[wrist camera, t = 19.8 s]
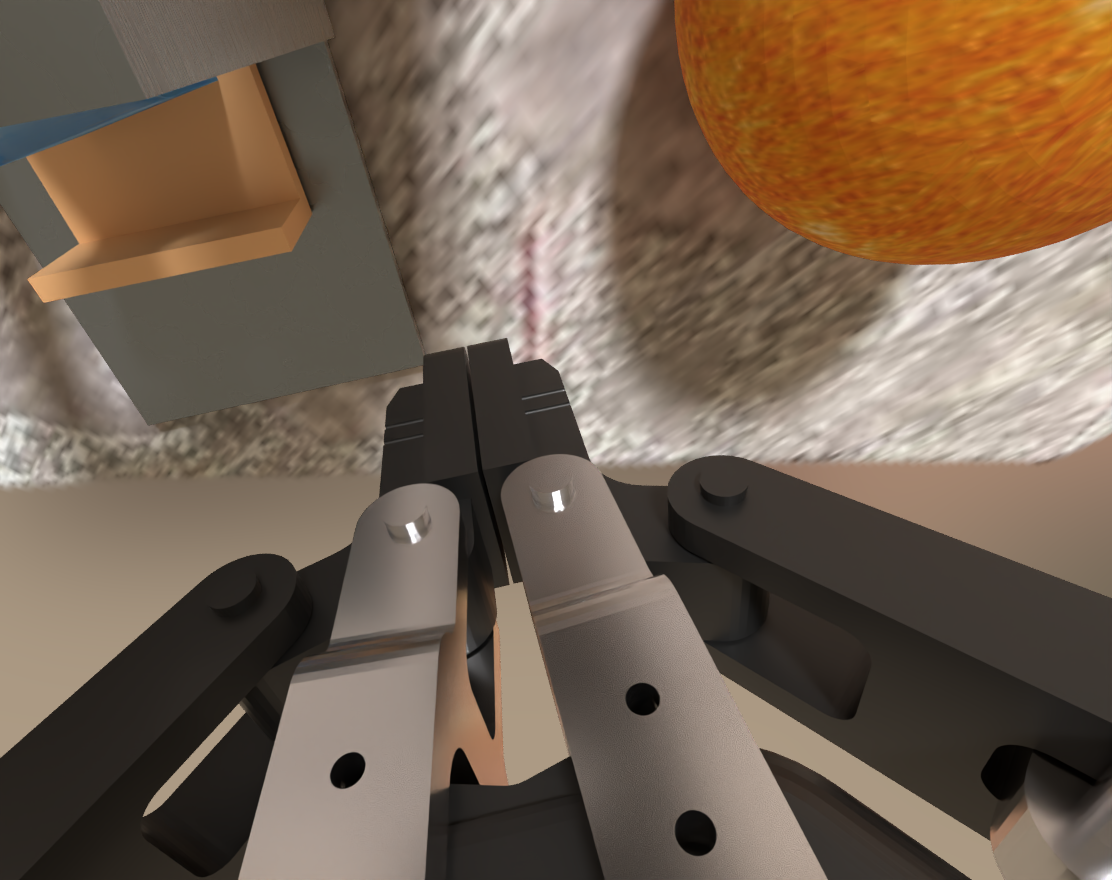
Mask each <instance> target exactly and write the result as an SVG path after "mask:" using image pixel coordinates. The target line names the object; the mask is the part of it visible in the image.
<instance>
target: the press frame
mask: <svg viewBox="0 0 1112 880" xmlns="http://www.w3.org/2000/svg"><path fill="white" fill-rule="evenodd" d="M332 38H335V35H334V32H333V29H332V26H331V22H330V19H329V16H328V13H327V9H326V6H325V3H324V0H0V127H5V126H10V125H15V124H20V123H25V122H31V121H36V120H41V119H46V118H51V117H57V116H62V115H67V114H72V113H77V112H83V111H88V110H93V109H98V108H103V107H109V106H114V105H119V104H124V103H129V102H135V101H140V100H145V99H149V98H152V97H155V96H158V95H161V94H164V93H167V92H170V91H173V90H176V89H179V88H182V87H185V86H188V85H191V84H194V83H197V82H201V81H204V80H207V79H210V78H213V77H216V76H219V75H222V74H225V73H228V72H231V71H234V70H237V69H240V68H243V67H246V66H249V65H252V64H256V66H257V69H258V72H259V74H260V77H261V79H262V82H263V85H264V87H265V90H266V93H267V95H268V98H269V101H270V103H271V106H272V108H273V111H274V114H275V116H276V119H277V122H278V124H279V127H280V130H281V132H282V135H283V137H284V140H285V143H286V145H287V148H288V151H289V153H290V156H291V159H292V161H293V164H294V166H295V169H296V172H297V174H298V177H299V180H300V182H301V185H302V188H303V190H304V193H305V195H306V198H307V201H308V203H309V206H310V209H311V211H312V215H311V217H310V219H309V221H308V223H307V225H306V226H305V228H304V230H303V232H302V234H301V235H300V237H299V239H298V241H297V243H296V245H295V246H294V248H293V250H292V251H291V252H286V253H281V254H277V255H272V256H267V257H262V258H257V259H252V260H248V261H243V262H238V263H233V264H228V265H223V266H219V267H214V268H209V269H204V270H199V271H195V272H190V273H185V274H180V275H175V276H170V277H166V278H161V279H156V280H151V281H146V282H141V283H137V284H132V285H127V286H122V287H117V288H112V289H108V290H103V291H98V292H93V293H88V294H83V295H79V296H74V297H69V298H64V300H65V302H66V303H67V305H68V306H69V308H70V309H71V311H72V312H73V314H74V315H75V316H76V318H77V319H78V321H79V322H80V324H81V325H82V327H83V328H84V330H85V331H86V333H87V334H88V336H89V337H90V339H91V340H92V342H93V343H94V345H95V346H96V348H97V349H98V351H99V352H100V354H101V355H102V357H103V358H104V360H105V361H106V363H107V364H108V366H109V367H110V369H111V370H112V372H113V373H114V375H115V376H116V378H117V379H118V381H119V382H120V384H121V385H122V387H123V388H124V390H125V391H126V393H127V394H128V396H129V397H130V399H131V400H132V402H133V403H134V405H135V406H136V408H137V409H138V411H139V412H140V414H141V415H142V417H143V418H144V420H145V421H146V423H147V424H148V425H152V424H157V423H161V422H166V421H171V420H175V419H180V418H184V417H189V416H193V415H198V414H203V413H207V412H212V411H216V410H221V409H225V408H230V407H235V406H239V405H244V404H248V403H253V402H257V401H262V400H267V399H271V398H276V397H280V396H285V395H289V394H294V393H299V392H303V391H308V390H312V389H317V388H321V387H326V386H331V385H335V384H340V383H344V382H349V381H353V380H358V379H363V378H367V377H372V376H376V375H381V374H385V373H390V372H395V371H399V370H404V369H408V368H413V367H417V366H422V365H423V356H424V355H426V354H425V351H424V348H423V344H422V341H421V338H420V335H419V332H418V328H417V325H416V322H415V319H414V316H413V313H412V309H411V306H410V303H409V300H408V297H407V293H406V290H405V287H404V284H403V281H402V277H401V274H400V271H399V268H398V265H397V262H396V258H395V255H394V252H393V249H392V246H391V242H390V239H389V236H388V233H387V230H386V227H385V223H384V220H383V217H382V214H381V211H380V207H379V204H378V201H377V198H376V195H375V191H374V188H373V185H372V182H371V179H370V176H369V172H368V169H367V166H366V163H365V160H364V156H363V153H362V150H361V147H360V144H359V141H358V137H357V134H356V131H355V128H354V125H353V121H352V118H351V115H350V112H349V109H348V105H347V102H346V99H345V96H344V93H343V90H342V86H341V83H340V80H339V77H338V74H337V70H336V67H335V64H334V61H333V58H332V55H331V51H330V48H329V45H328V42H327V40H329V39H332ZM0 204H1V206H2V207H3V209H4V210H5V212H6V213H7V215H8V216H9V218H10V219H11V221H12V222H13V224H14V225H15V227H16V228H17V230H18V231H19V233H20V234H21V236H22V237H23V239H24V240H25V242H26V243H27V245H28V246H29V248H30V249H31V251H32V252H33V254H34V255H35V257H36V258H37V260H38V261H39V263H40V264H41V266H42V267H43V268H44V267H46V266H47V265H49V264H50V263H52V262H53V261H55V260H56V259H57V258H59V257H60V256H62V255H63V254H65V253H66V252H68V251H69V250H71V249H72V248H74V247H75V246H77V245H78V244H79V242H78V241H77V239H76V237H75V236H74V234H73V232H72V231H71V229H70V228H69V226H68V224H67V223H66V221H65V220H64V218H63V216H62V215H61V213H60V211H59V210H58V208H57V207H56V205H55V203H54V202H53V200H52V198H51V197H50V195H49V194H48V192H47V190H46V189H45V187H44V186H43V184H42V182H41V181H40V179H39V177H38V176H37V174H36V173H35V171H34V169H33V168H32V166H31V164H30V163H29V161H28V160H27V158H26V157H24V158H21V159H19V160H16V161H13V162H11V163H8V164H5V165H2V166H0Z"/></svg>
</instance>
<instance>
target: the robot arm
mask: <svg viewBox="0 0 1112 880" xmlns="http://www.w3.org/2000/svg"><path fill="white" fill-rule="evenodd" d="M467 349H468V357H469V361H468V357H467V354H466V351H465V348H464V347H461V348H456V349H451V350H446V351H441V352H436V353H431V354H427V355H424V356H423V384H418V385H414V386H409V387H404V388H400V389H399V390H398V392H397V393H396V395H395V396H394V398H393V399H392V400H391V402H390V403H389V405H388V406H387V410H386V422H385V427H386V430H385V434H384V444H385V445H384V446H383V458H382V470H381V482H380V494H379V498H378V499H377V500H376V501H374V502H373V503H372V504H371V505H370V506H369V507H368V508H366V510H365V511H364V512H363V514H362V515H361V517H360V518H359V520H358V522H357V525H356V528H355V533H354V537H353V542H352V543H351V544H350V545H349V546H347V547H345V548H344V549H342V550H341V551H339V552H337V553H335V554H333V555H331V556H329V557H327V558H324V559H322V560H320V561H318V562H316V563H314V564H312V565H310V566H307V567H305V568H303V569H301V570H299V571H296V570H295V568H294V567H293V565H292V564H291V563H290V562H289V561H288V560H287V559H285V558H284V557H282V556H279V555H275V554H257V555H250V556H246V557H243V558H240V559H237V560H235V561H233V562H230V563H228V564H226V565H224V566H222V567H221V568H219V569H217V570H216V571H214V572H213V573H211V574H210V575H209V576H208V577H206V578H205V579H204V580H202V581H201V582H200V583H199V584H198V585H197V586H196V587H195V588H193V589H192V590H191V591H190V592H189V593H188V594H187V595H185V596H184V597H183V598H182V599H181V600H180V601H179V602H177V603H176V604H175V605H174V606H173V607H172V608H171V609H170V610H168V611H167V612H166V613H165V614H164V615H163V616H161V617H160V618H159V619H158V620H157V621H156V622H155V623H154V624H152V625H151V626H150V627H149V628H148V629H147V630H146V631H144V632H143V633H142V634H141V635H140V636H139V637H138V638H137V639H135V640H134V641H133V642H132V643H131V644H130V645H128V646H127V647H126V648H125V649H124V650H123V651H122V652H121V653H119V654H118V655H117V656H116V657H115V658H114V659H113V660H112V661H110V662H109V663H108V664H107V665H106V666H105V667H103V668H102V669H101V670H100V671H99V672H98V673H97V674H95V675H94V676H93V677H92V678H91V679H90V680H89V681H88V682H86V683H85V684H84V685H83V686H82V687H81V688H80V689H78V690H77V691H76V692H75V693H74V694H73V695H72V696H71V697H69V698H68V699H67V700H66V701H65V702H64V703H63V704H61V705H60V706H59V707H58V708H57V709H56V710H55V711H53V712H52V713H51V714H50V715H49V716H48V717H47V718H45V719H44V720H43V721H42V722H41V723H40V724H39V725H37V726H36V728H34V729H33V730H32V731H31V732H30V733H28V734H27V735H26V736H25V737H24V738H23V739H22V740H21V741H20V742H18V743H17V744H16V745H15V746H14V747H13V748H11V749H10V750H9V751H8V752H7V753H6V754H5V755H3V756H2V757H1V758H0V880H971V879H970V878H968V877H967V876H965V875H964V874H963V873H961V872H960V871H958V870H957V869H956V868H954V867H953V866H951V865H950V864H948V863H947V862H946V861H944V860H943V859H941V858H940V857H938V856H937V855H936V854H934V853H933V852H931V851H930V850H928V849H927V848H925V847H924V846H923V845H921V844H920V843H918V842H917V841H916V840H914V839H913V838H911V837H910V836H908V835H907V834H905V833H904V832H903V831H901V830H900V829H898V828H897V827H896V826H894V825H893V824H891V823H890V822H888V821H887V820H886V819H884V818H883V817H881V816H880V815H879V814H877V813H876V812H874V811H873V810H871V809H870V808H869V807H867V806H866V805H864V804H863V803H861V802H860V801H858V800H857V799H856V798H854V797H853V796H851V795H850V794H848V793H847V792H846V791H844V790H843V789H841V788H840V787H838V786H837V785H836V784H834V783H833V782H831V781H829V780H828V779H826V778H825V777H823V776H822V775H820V774H818V773H816V772H815V771H813V770H811V769H809V768H807V767H805V766H803V765H802V764H800V763H798V762H796V761H793V760H791V759H789V758H786V757H784V756H781V755H779V754H776V753H774V752H771V751H768V750H764V749H761V748H759V747H758V745H757V744H756V742H755V740H754V738H753V736H752V734H751V732H750V730H749V728H748V726H747V724H746V723H745V721H744V719H743V717H742V715H741V713H740V711H739V709H738V707H737V705H736V703H735V701H734V700H733V698H732V696H731V694H730V692H729V690H728V688H727V686H726V684H725V682H724V680H723V679H722V677H721V675H720V673H721V674H722V675H724V676H726V677H727V678H729V679H731V680H732V681H734V682H735V683H737V684H739V685H740V686H742V687H743V688H745V689H747V690H748V691H750V692H751V693H753V694H755V695H756V696H758V697H759V698H761V699H763V700H765V701H766V702H768V703H769V704H771V705H772V706H774V707H776V708H777V709H779V710H780V711H782V712H784V713H785V714H787V715H788V716H790V717H792V718H794V719H795V720H797V721H798V722H800V723H801V724H803V725H805V726H806V727H808V728H809V729H811V730H813V731H814V732H816V733H817V734H819V735H821V736H822V737H824V738H826V739H827V740H829V741H830V742H832V743H834V744H835V745H837V746H838V747H840V748H842V749H843V750H845V751H847V752H848V753H850V754H851V755H853V756H854V757H856V758H858V759H859V760H861V761H863V762H864V763H866V764H867V765H869V766H871V767H872V768H874V769H875V770H877V771H879V772H881V773H882V774H884V775H885V776H887V777H888V778H890V779H892V780H893V781H895V782H896V783H898V784H900V785H901V786H903V787H904V788H906V789H908V790H909V791H911V792H912V793H914V794H916V795H917V796H919V797H921V798H922V799H924V800H925V801H927V802H929V803H930V804H932V805H933V806H935V807H937V808H938V809H940V810H942V811H943V812H945V813H946V814H948V815H950V816H952V817H953V818H954V819H956V820H958V821H959V822H961V823H963V824H964V825H966V826H967V827H969V828H971V829H972V830H974V831H975V832H977V833H979V834H980V835H982V836H983V837H985V838H987V839H988V840H990V841H991V845H992V851H993V854H994V857H995V860H996V863H997V866H998V868H999V870H1000V872H1001V874H1002V876H1003V878H1004V880H1112V598H1109V597H1107V596H1104V595H1102V594H1099V593H1096V592H1093V591H1091V590H1088V589H1086V588H1083V587H1080V586H1077V585H1075V584H1073V583H1070V582H1067V581H1065V580H1062V579H1060V578H1057V577H1054V576H1052V575H1049V574H1046V573H1044V572H1041V571H1039V570H1036V569H1033V568H1031V567H1028V566H1025V565H1023V564H1020V563H1018V562H1015V561H1012V560H1010V559H1007V558H1004V557H1002V556H999V555H997V554H994V553H991V552H989V551H986V550H984V549H981V548H978V547H976V546H973V545H970V544H967V543H965V542H962V541H960V540H957V539H954V538H952V537H949V536H947V535H944V534H942V533H939V532H936V531H934V530H931V529H928V528H926V527H923V526H921V525H918V524H915V523H912V522H910V521H907V520H905V519H902V518H900V517H897V516H894V515H892V514H889V513H886V512H884V511H881V510H878V509H876V508H873V507H871V506H868V505H865V504H863V503H860V502H857V501H855V500H852V499H849V498H847V497H845V496H842V495H839V494H837V493H834V492H831V491H829V490H826V489H824V488H821V487H818V486H816V485H813V484H810V483H808V482H805V481H803V480H800V479H797V478H795V477H792V476H789V475H787V474H784V473H781V472H779V471H776V470H774V469H771V468H769V467H766V466H763V465H761V464H758V463H755V462H753V461H750V460H747V459H744V458H740V457H734V456H725V455H719V456H708V457H703V458H699V459H695V460H693V461H690V462H688V463H687V464H685V465H683V466H682V467H680V468H679V469H678V470H677V471H676V472H675V473H674V474H673V476H672V477H671V479H670V481H669V483H668V486H641V485H631V484H625V483H622V482H618V481H615V480H613V479H611V478H608V477H606V476H605V475H603V474H602V473H601V472H600V470H599V469H598V468H597V467H596V466H595V465H594V464H593V463H591V461H590V459H589V456H588V454H587V451H586V448H585V445H584V442H583V439H582V437H581V434H580V431H579V428H578V425H577V422H576V420H575V417H574V414H573V411H572V408H571V406H570V403H569V400H568V397H567V394H566V391H565V389H564V385H563V383H562V380H561V377H560V374H559V371H558V370H556V369H555V368H554V367H552V366H551V365H550V364H548V363H547V362H545V361H544V360H543V359H538V360H533V361H528V362H524V363H519V364H514V365H513V361H512V356H511V352H510V348H509V344H508V340H507V338H504V339H499V340H494V341H489V342H484V343H480V344H475V345H470V346H467ZM504 550H505V551H504ZM505 554H506V557H507V561H508V565H509V568H510V572H511V576H512V579H513V582H514V583H518V582H523V585H524V589H525V593H526V597H527V601H528V604H529V609H530V613H531V616H532V620H533V624H534V628H535V632H536V635H537V639H538V643H539V646H540V650H541V654H542V658H543V661H544V665H545V669H546V673H547V676H548V680H549V684H550V687H551V691H552V695H553V699H554V702H555V706H556V710H557V713H558V717H559V721H560V725H561V728H562V732H563V736H564V739H565V743H566V747H567V751H568V754H569V757H568V758H566V759H564V760H562V761H560V762H559V763H557V764H555V765H553V766H551V767H550V768H548V769H546V770H544V771H542V772H540V773H538V774H537V775H535V776H533V777H531V778H530V779H528V780H526V781H523V782H521V783H519V784H516V785H510V786H509V784H508V779H507V774H506V769H505V762H504V753H503V734H502V733H503V732H502V702H501V701H502V700H501V699H502V698H501V666H500V635H499V628H498V625H497V622H496V617H497V608H496V599H495V591H494V588H497V587H502V586H506V585H509V578H508V571H507V565H506V558H505ZM238 704H240V706H241V707H242V708H243V709H244V710H245V711H246V713H245V714H244V715H243V716H242V717H241V718H240V719H239V721H238V722H237V723H236V724H235V725H234V726H233V727H232V728H231V729H230V731H229V732H228V733H227V734H226V735H225V736H224V737H223V738H222V740H220V742H219V743H218V744H217V745H216V746H215V747H214V748H213V749H212V750H211V752H210V753H209V754H208V755H207V756H206V757H205V758H204V759H203V761H202V762H201V763H200V764H199V765H198V766H197V767H196V768H195V769H194V771H192V773H191V774H190V775H189V776H188V777H187V778H186V779H185V780H184V781H183V783H182V784H181V785H180V786H179V787H178V788H177V789H176V790H175V792H174V793H173V794H172V795H171V796H170V797H169V798H168V799H167V800H166V801H165V802H164V803H163V804H162V805H161V806H160V807H159V808H158V809H156V810H155V811H153V812H152V813H150V814H148V815H147V816H144V817H143V814H144V812H145V809H146V808H147V806H148V804H149V802H150V801H151V799H152V798H153V796H154V795H155V794H156V793H157V791H158V790H159V789H160V788H161V787H162V786H163V785H164V784H165V783H166V782H167V780H168V779H169V778H170V777H171V776H172V775H173V774H174V773H175V772H176V771H177V770H178V769H179V767H180V766H181V765H182V764H183V763H184V762H185V761H186V760H187V759H188V758H189V757H190V755H191V754H192V753H193V752H194V751H195V750H196V749H197V748H198V747H199V746H200V745H201V744H202V742H203V741H204V740H205V739H206V738H207V737H208V736H209V735H210V734H211V733H212V732H213V731H214V729H215V728H216V727H217V726H218V725H219V724H220V723H221V722H222V721H223V720H224V718H226V717H227V715H228V714H229V713H230V712H231V711H232V710H233V709H234V708H235V707H236V706H237V705H238Z"/></svg>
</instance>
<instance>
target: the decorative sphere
mask: <svg viewBox="0 0 1112 880" xmlns="http://www.w3.org/2000/svg"><path fill="white" fill-rule="evenodd" d="M674 5H675V28H676V37H677V47H678V54H679V59H680V64H681V70H682V75H683V79H684V83H685V86H686V90H687V93H688V97H689V100H690V103H691V106H692V108H693V111H694V113H695V116H696V118H697V121H698V123H699V126H700V128H701V130H702V133H703V134H704V136H705V138H706V140H707V142H708V144H709V146H710V148H711V150H712V152H713V153H714V155H715V156H716V158H717V159H718V161H719V162H720V164H721V165H722V167H723V168H724V170H725V171H726V173H727V174H728V175H729V176H730V177H731V179H732V180H733V181H734V182H735V183H736V184H737V186H738V187H739V188H740V189H741V190H742V191H743V192H744V194H745V195H746V196H747V197H748V198H749V199H750V200H751V201H753V202H754V203H755V204H756V205H757V206H758V207H759V208H760V209H761V210H763V211H764V212H765V213H767V214H768V215H769V216H771V217H772V218H773V219H775V220H776V221H778V222H779V223H780V224H782V225H783V226H785V227H786V228H788V229H789V230H791V231H793V232H795V233H797V234H799V235H801V236H803V237H805V238H807V239H809V240H811V241H813V242H815V243H817V244H819V245H822V246H824V247H827V248H830V249H832V250H835V251H838V252H841V253H845V254H848V255H852V256H856V257H860V258H865V259H869V260H874V261H882V262H890V263H900V264H909V265H933V264H958V263H967V262H975V261H982V260H989V259H995V258H1000V257H1005V256H1010V255H1014V254H1019V253H1022V252H1026V251H1030V250H1033V249H1037V248H1041V247H1044V246H1047V245H1050V244H1054V243H1057V242H1060V241H1063V240H1066V239H1069V238H1071V237H1074V236H1076V235H1079V234H1081V233H1084V232H1086V231H1089V230H1091V229H1094V228H1096V227H1098V226H1101V225H1103V224H1106V223H1108V222H1110V221H1112V0H674Z"/></svg>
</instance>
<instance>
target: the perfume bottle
mask: <svg viewBox="0 0 1112 880" xmlns="http://www.w3.org/2000/svg"><path fill="white" fill-rule="evenodd" d="M215 81H218V78H217V77H213V78H210V79H207V80H204V81H201V82H197V83H194V84H191V85H188V86H185V87H182V88H179V89H176V90H173V91H170V92H167V93H164V94H161V95H158V96H155V97H152V98H149V99H145V100H140V101H135V102H129V103H124V104H119V105H114V106H109V107H103V108H98V109H93V110H88V111H83V112H77V113H72V114H67V115H62V116H57V117H51V118H46V119H41V120H36V121H31V122H25V123H20V124H15V125H10V126H5V127H0V166H2V165H5V164H8V163H11V162H13V161H16V160H19V159H21V158H24V157H27V156H29V155H32V154H35V153H37V152H40V151H43V150H45V149H48V148H51V147H54V146H56V145H59V144H62V143H64V142H67V141H70V140H72V139H75V138H78V137H80V136H83V135H85V134H88V133H90V132H93V131H95V130H98V129H100V128H103V127H105V126H107V125H110V124H112V123H115V122H117V121H120V120H122V119H125V118H127V117H130V116H132V115H134V114H137V113H139V112H142V111H144V110H147V109H149V108H152V107H154V106H156V105H159V104H161V103H164V102H166V101H169V100H171V99H174V98H176V97H179V96H181V95H183V94H186V93H188V92H191V91H193V90H196V89H198V88H201V87H203V86H205V85H208V84H210V83H213V82H215Z"/></svg>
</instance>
